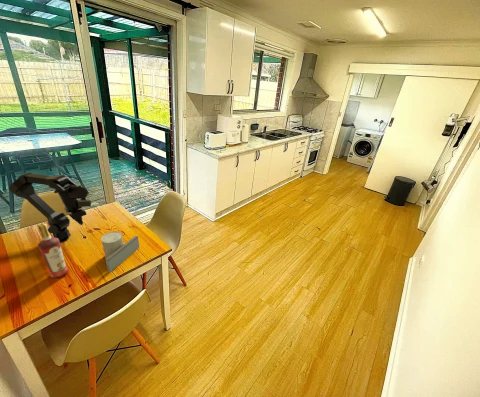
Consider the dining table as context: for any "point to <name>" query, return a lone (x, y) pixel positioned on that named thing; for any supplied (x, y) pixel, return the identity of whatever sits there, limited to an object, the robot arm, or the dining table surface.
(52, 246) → the liquor
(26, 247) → the dining table surface
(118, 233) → the grey stubby cylinder
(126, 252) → the grey rectangular panel
